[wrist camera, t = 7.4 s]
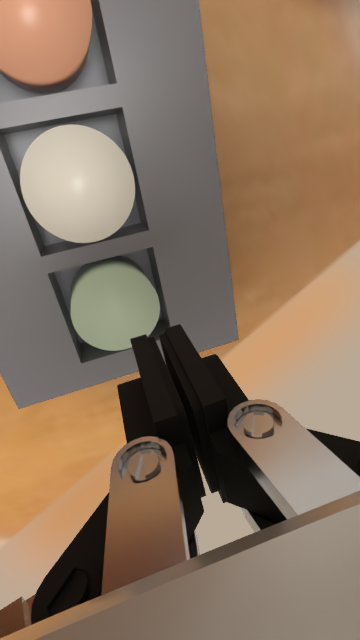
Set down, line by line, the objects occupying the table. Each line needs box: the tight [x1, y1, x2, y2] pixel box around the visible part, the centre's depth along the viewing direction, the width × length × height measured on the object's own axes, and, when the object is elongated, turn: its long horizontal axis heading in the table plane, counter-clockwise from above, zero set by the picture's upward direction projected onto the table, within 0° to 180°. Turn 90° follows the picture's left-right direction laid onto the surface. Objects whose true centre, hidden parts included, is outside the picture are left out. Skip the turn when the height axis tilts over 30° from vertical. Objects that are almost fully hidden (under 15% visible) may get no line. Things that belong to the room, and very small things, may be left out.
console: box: [0, 0, 239, 409], centre depth 18 cm, size 14×22×4 cm, turn 10°
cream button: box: [20, 124, 135, 243], centre depth 16 cm, size 5×5×3 cm
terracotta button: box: [0, 0, 92, 93], centre depth 14 cm, size 5×5×3 cm
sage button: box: [71, 256, 160, 351], centre depth 20 cm, size 5×5×3 cm
